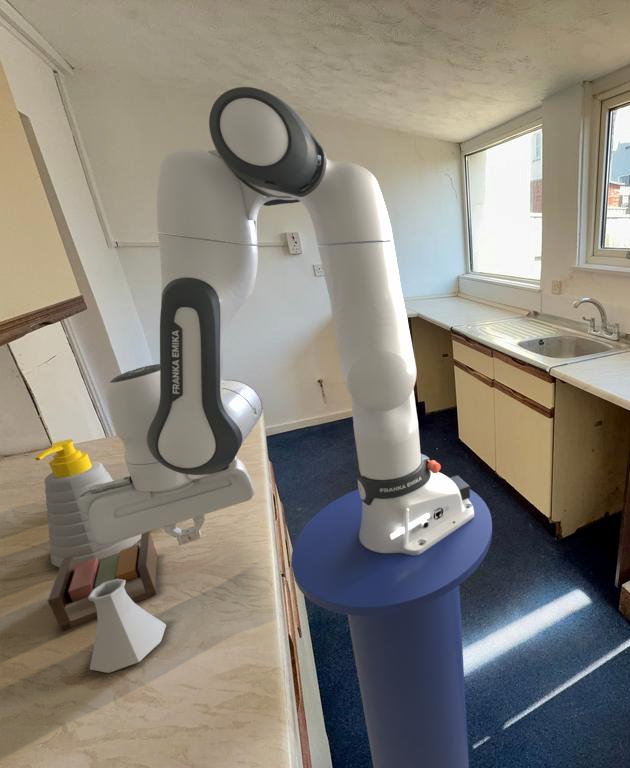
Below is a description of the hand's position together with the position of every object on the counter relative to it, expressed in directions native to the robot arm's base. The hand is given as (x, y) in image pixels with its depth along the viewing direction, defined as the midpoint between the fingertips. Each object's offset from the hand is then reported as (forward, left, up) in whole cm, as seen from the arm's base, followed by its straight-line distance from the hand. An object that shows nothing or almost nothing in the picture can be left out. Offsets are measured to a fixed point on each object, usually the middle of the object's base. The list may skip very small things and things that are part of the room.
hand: (190, 539), depth 66 cm
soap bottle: (+13, -16, -4) cm, 21 cm away
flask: (+7, +14, -4) cm, 17 cm away
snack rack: (+10, 0, -4) cm, 11 cm away
